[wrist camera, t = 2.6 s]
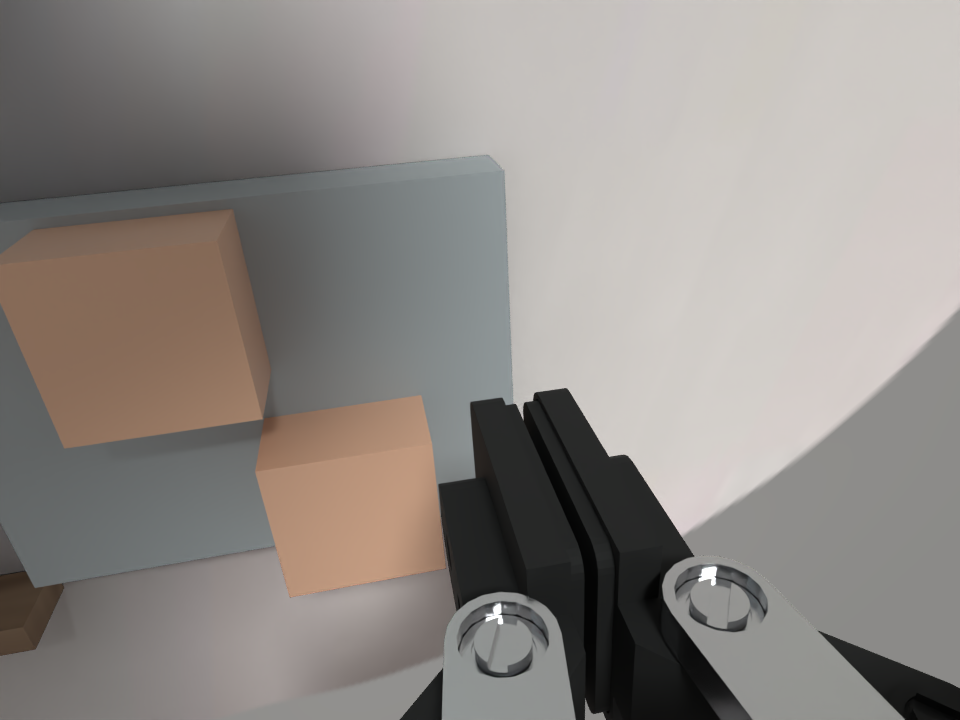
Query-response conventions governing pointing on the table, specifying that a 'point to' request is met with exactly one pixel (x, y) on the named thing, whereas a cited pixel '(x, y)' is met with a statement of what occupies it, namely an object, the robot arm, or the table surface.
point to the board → (274, 355)
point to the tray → (24, 612)
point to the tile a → (138, 325)
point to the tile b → (351, 494)
